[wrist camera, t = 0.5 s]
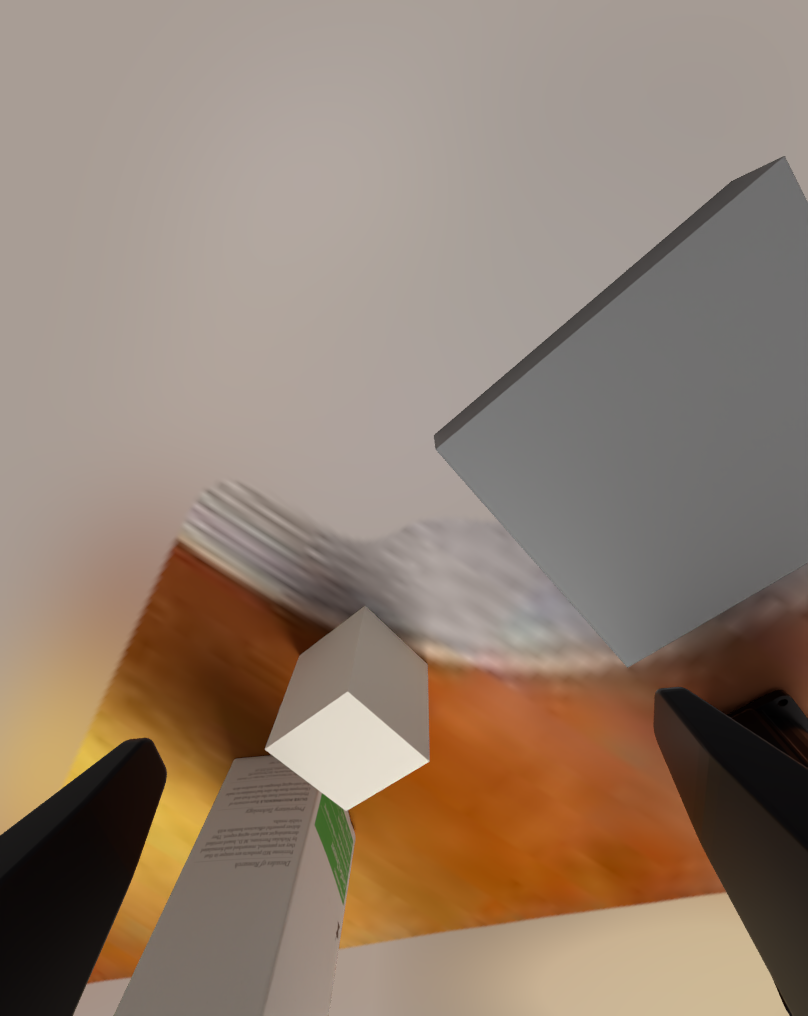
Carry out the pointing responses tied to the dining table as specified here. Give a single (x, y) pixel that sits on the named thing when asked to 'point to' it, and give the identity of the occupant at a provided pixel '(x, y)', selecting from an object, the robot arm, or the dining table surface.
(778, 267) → the base board
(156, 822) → the dining table surface
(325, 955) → the skincare box
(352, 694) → the block
